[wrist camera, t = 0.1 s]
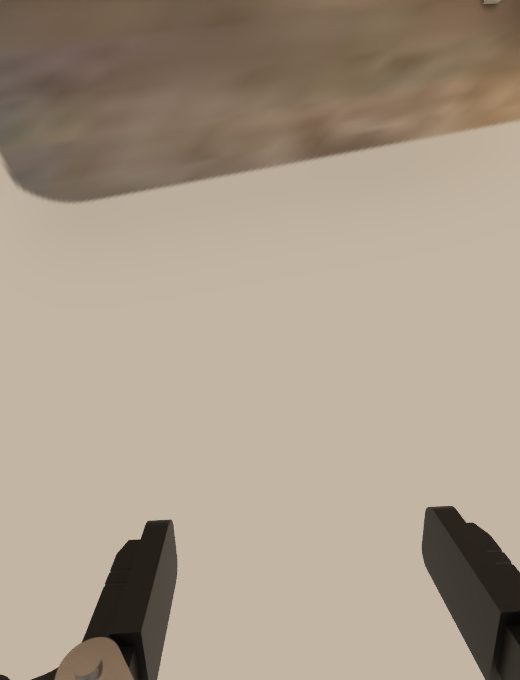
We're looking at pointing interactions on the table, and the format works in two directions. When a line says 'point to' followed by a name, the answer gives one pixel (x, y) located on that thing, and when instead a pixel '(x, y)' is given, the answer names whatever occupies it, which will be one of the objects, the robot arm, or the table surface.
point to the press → (491, 1)
